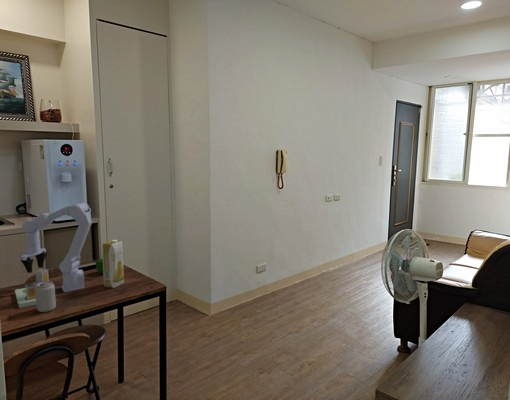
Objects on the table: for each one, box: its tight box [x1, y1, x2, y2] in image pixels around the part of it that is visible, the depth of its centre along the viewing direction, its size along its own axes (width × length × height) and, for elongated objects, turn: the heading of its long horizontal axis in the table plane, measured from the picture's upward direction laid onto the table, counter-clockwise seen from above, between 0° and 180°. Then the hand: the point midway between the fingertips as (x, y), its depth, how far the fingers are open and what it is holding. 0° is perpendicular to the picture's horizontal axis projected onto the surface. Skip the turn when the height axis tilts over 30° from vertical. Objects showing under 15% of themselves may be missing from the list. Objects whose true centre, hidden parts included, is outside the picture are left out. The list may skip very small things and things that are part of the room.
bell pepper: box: [95, 257, 103, 275], centre depth 213 cm, size 8×8×10 cm
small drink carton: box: [35, 268, 50, 285], centre depth 193 cm, size 4×4×8 cm
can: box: [35, 280, 57, 313], centre depth 165 cm, size 8×8×12 cm
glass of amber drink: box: [24, 282, 37, 300], centre depth 173 cm, size 4×4×8 cm
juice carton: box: [101, 239, 125, 289], centre depth 194 cm, size 9×8×24 cm
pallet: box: [14, 285, 37, 309], centre depth 177 cm, size 11×20×2 cm, turn 37°
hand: (35, 270), depth 188 cm, fingers open, 7 cm apart
